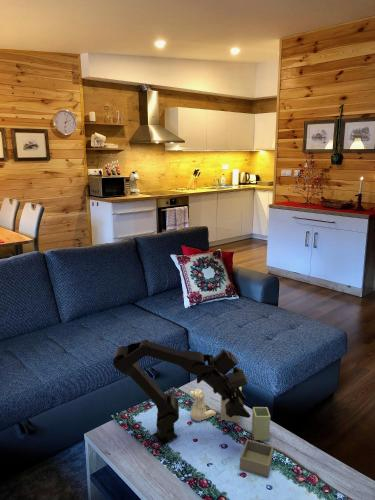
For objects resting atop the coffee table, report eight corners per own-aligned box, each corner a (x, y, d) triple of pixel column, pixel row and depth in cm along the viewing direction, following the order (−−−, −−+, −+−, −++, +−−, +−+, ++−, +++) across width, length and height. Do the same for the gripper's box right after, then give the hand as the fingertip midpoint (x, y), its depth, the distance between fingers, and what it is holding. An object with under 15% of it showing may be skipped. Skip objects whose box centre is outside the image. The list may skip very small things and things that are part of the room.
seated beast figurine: (216, 415, 155) (217, 387, 152) (204, 427, 149) (204, 399, 146) (196, 406, 161) (196, 379, 158) (183, 417, 154) (183, 390, 151)
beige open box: (254, 441, 142) (255, 416, 139) (251, 430, 147) (252, 407, 144) (268, 440, 142) (270, 416, 139) (265, 430, 147) (267, 407, 144)
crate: (239, 469, 129) (240, 457, 128) (246, 450, 137) (246, 439, 136) (267, 477, 126) (268, 465, 125) (272, 457, 134) (273, 446, 133)
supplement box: (239, 423, 151) (240, 394, 148) (219, 420, 152) (220, 391, 149) (241, 411, 158) (242, 382, 155) (222, 408, 159) (223, 380, 156)
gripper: (237, 381, 128) (270, 411, 131) (230, 352, 146) (259, 378, 149) (212, 403, 130) (245, 431, 133) (208, 371, 148) (237, 397, 151)
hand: (247, 408), depth 141 cm, fingers open, 9 cm apart
